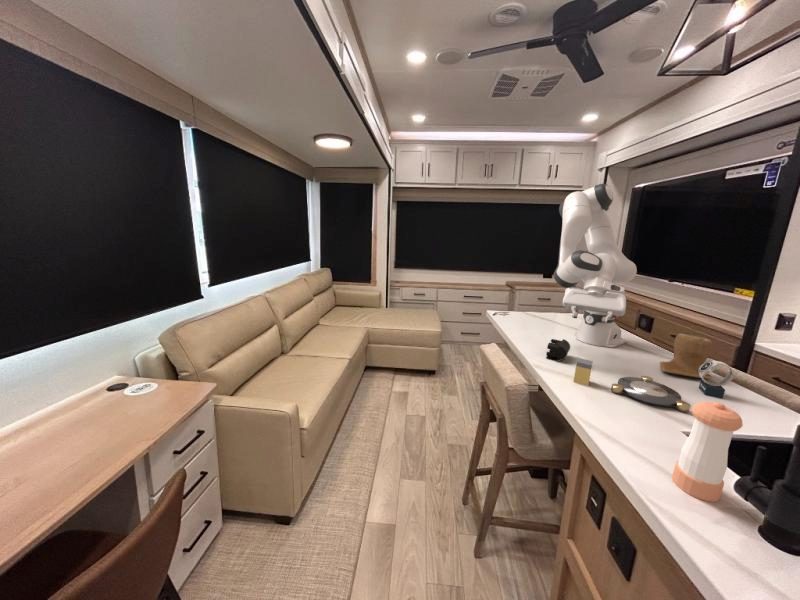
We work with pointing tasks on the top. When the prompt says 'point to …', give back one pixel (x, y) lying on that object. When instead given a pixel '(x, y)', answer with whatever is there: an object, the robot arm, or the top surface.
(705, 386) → the watch
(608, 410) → the top surface
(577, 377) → the block
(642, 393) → the levelling base
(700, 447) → the pepper shaker
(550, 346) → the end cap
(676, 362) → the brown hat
